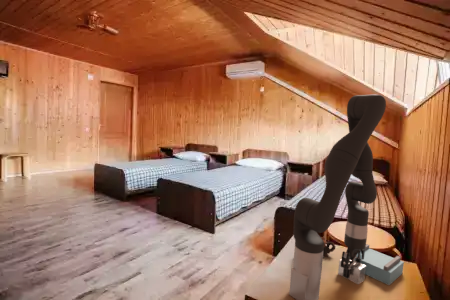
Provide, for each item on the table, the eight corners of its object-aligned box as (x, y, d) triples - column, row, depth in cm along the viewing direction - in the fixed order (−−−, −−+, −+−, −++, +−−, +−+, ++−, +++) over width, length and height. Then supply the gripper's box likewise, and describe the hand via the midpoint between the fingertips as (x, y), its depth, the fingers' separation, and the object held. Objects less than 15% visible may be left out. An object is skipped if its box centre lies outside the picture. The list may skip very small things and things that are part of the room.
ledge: (389, 285, 97) (391, 268, 97) (347, 265, 110) (348, 251, 109) (402, 273, 106) (404, 258, 106) (362, 256, 119) (363, 242, 118)
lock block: (358, 284, 97) (360, 269, 96) (337, 274, 103) (339, 260, 103) (364, 280, 100) (366, 265, 99) (344, 270, 106) (345, 256, 106)
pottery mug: (308, 256, 117) (305, 237, 120) (310, 257, 125) (308, 239, 128) (337, 256, 113) (333, 236, 116) (337, 256, 121) (334, 238, 124)
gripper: (357, 242, 92) (352, 285, 94) (374, 233, 101) (369, 272, 103) (337, 234, 98) (332, 275, 100) (354, 226, 107) (350, 264, 109)
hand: (351, 273), depth 101 cm, fingers open, 8 cm apart
